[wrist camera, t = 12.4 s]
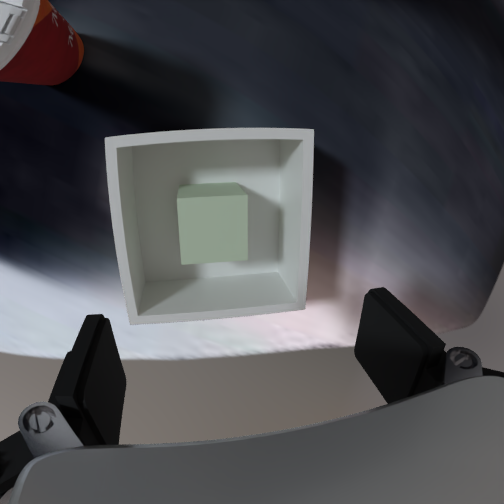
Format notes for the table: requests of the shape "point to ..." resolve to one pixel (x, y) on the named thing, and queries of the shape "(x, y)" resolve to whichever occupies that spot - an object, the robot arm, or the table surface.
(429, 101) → the table surface
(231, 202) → the green block
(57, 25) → the paper cup
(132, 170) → the bin
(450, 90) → the table surface
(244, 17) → the table surface
